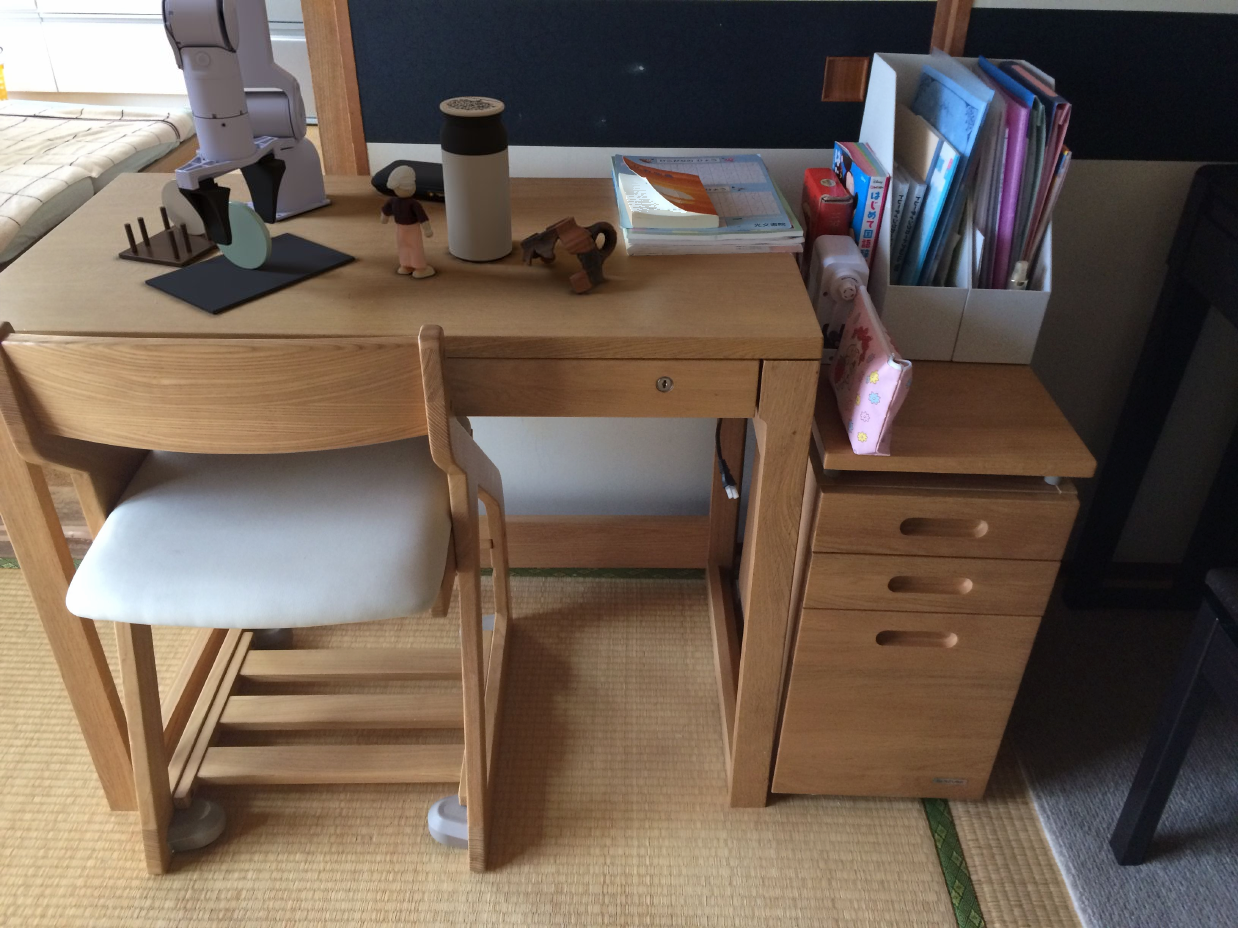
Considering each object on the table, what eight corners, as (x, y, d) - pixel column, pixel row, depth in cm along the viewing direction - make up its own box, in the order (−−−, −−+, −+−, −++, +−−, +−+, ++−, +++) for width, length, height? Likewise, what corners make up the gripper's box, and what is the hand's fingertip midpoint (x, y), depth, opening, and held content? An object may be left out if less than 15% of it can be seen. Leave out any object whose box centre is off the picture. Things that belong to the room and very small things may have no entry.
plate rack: (177, 228, 122) (169, 197, 120) (237, 236, 120) (230, 205, 118) (119, 258, 114) (109, 226, 111) (182, 267, 112) (174, 235, 109)
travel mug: (485, 268, 114) (477, 116, 104) (436, 253, 117) (423, 105, 107) (524, 248, 120) (520, 102, 109) (476, 235, 123) (467, 92, 113)
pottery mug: (560, 306, 107) (528, 240, 104) (532, 310, 115) (502, 249, 113) (643, 261, 110) (613, 195, 108) (610, 268, 119) (582, 208, 117)
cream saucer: (173, 229, 120) (159, 173, 116) (221, 236, 119) (209, 180, 115) (168, 231, 120) (154, 175, 116) (217, 238, 118) (204, 182, 114)
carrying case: (363, 197, 134) (459, 208, 131) (361, 176, 132) (457, 187, 130) (395, 175, 143) (486, 185, 140) (393, 155, 141) (484, 165, 138)
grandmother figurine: (448, 270, 113) (439, 165, 106) (433, 281, 110) (422, 175, 103) (392, 260, 115) (380, 157, 108) (376, 272, 112) (362, 166, 105)
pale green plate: (230, 266, 113) (205, 201, 109) (281, 266, 110) (258, 199, 106) (225, 269, 112) (200, 204, 108) (276, 268, 109) (252, 201, 105)
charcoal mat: (287, 235, 121) (287, 232, 121) (355, 260, 115) (354, 256, 115) (145, 283, 108) (144, 280, 107) (213, 314, 102) (212, 311, 101)
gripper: (236, 94, 108) (259, 208, 115) (140, 123, 96) (172, 248, 104) (286, 101, 106) (306, 217, 113) (194, 132, 94) (223, 258, 102)
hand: (245, 232), depth 109 cm, fingers open, 7 cm apart
